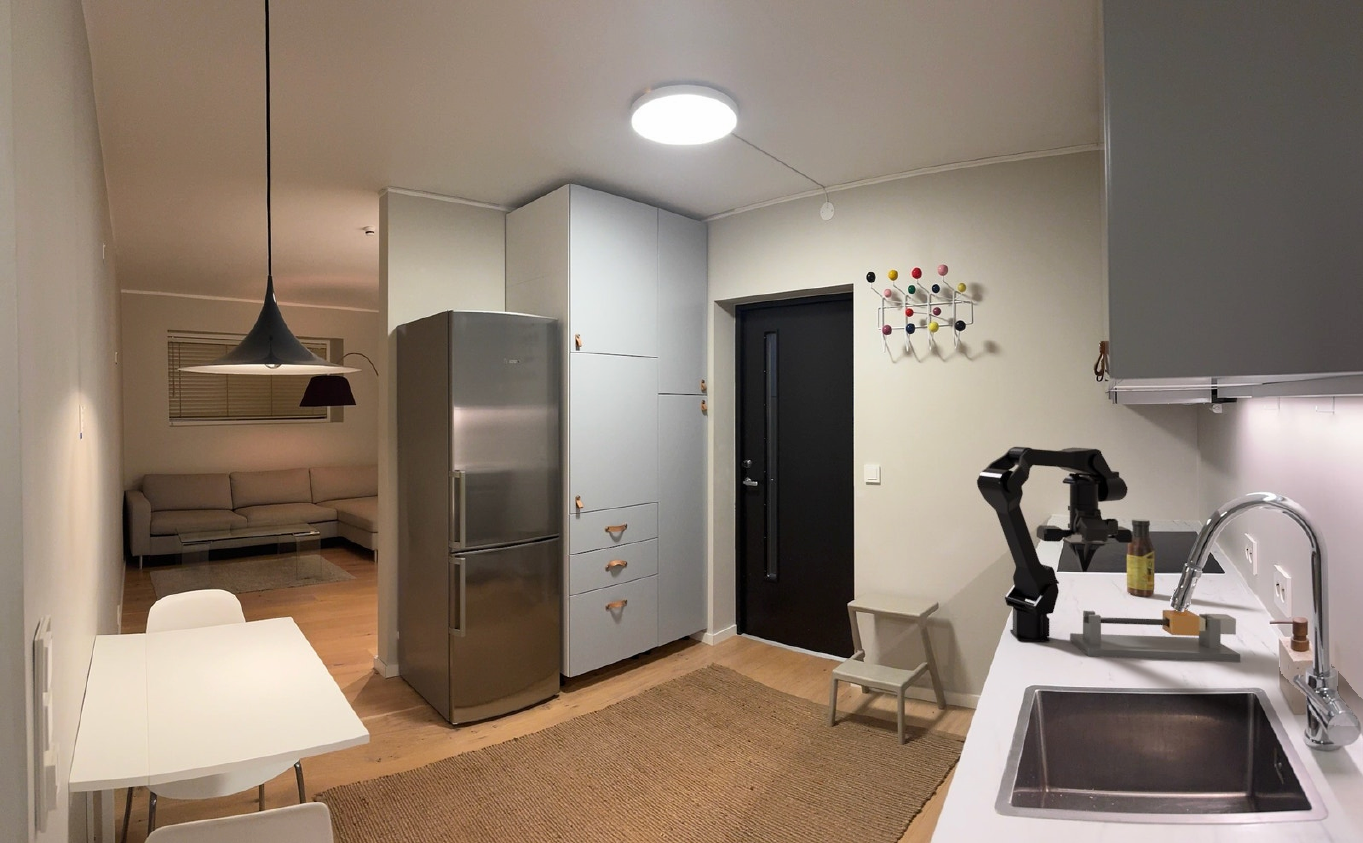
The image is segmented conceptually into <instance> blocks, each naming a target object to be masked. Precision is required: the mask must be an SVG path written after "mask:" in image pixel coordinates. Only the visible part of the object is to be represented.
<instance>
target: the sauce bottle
mask: <svg viewBox="0 0 1363 843" xmlns="http://www.w3.org/2000/svg"><path fill="white" fill-rule="evenodd" d="M1131 525H1132V533H1133V543H1127V547H1126V548H1127V552H1126V588H1127V589H1126V592H1127V593H1128V594H1129V593H1130V595H1133V596H1138V597H1151V596H1152V597H1153V595H1154V594H1155V593H1154V592H1155V591H1154V590H1155V566H1156V565H1155V549H1154V548H1155V547H1154V546H1153V544H1152V543H1153V542H1152V541H1151V538H1150V526H1151V523H1150V520H1149V519H1143V518H1132V519H1131Z"/></svg>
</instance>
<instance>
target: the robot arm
mask: <svg viewBox="0 0 1363 843" xmlns="http://www.w3.org/2000/svg"><path fill="white" fill-rule="evenodd" d="M1016 466H1017V467H1016ZM1033 466H1040V467H1056V468H1059V469H1061V470H1064V471H1065V472H1066V471H1067V472H1069V474H1068V475H1067V476H1066V477H1064V479H1063V480H1062V484H1065V485H1066V484H1068V485H1069V505H1067V510H1068V511H1069V523H1067V528H1066V529H1062V528H1061V527H1059V526H1057V525H1044V524H1043V525H1039V526H1037V528H1036V538H1038V539H1039V540H1041V541H1043V542H1053V543H1055V542H1059V543H1060V542H1061V541H1062V542H1064V543H1066V544H1068V546H1069V548H1070V550H1071V552H1072V553H1073V555H1074V557H1075V560H1076V562H1077V565H1078V567H1079V569H1080V571H1081V572H1082V573H1086V572H1088V569H1089V566H1090V564H1091V563H1092V562H1091V561H1092V560H1093V557H1094V556H1095V553H1096V552H1097V550H1098V549H1100V548H1101V547H1105V546H1106V543H1105V542H1108V540H1109V539H1114V540H1116V542H1118V543H1120V544H1121V543H1122V544H1125V543H1127V544H1128V543H1133V530H1132V529H1129V528H1127V527H1124V526H1119V521H1118V519H1116V518H1106V519H1103V517H1102V512H1101V509H1099V503H1101V502H1102V503H1103V502H1112V501H1113V502H1115V501H1121V500H1123V499H1124V498H1126V496H1127V494H1128V486H1127V484H1126V482H1125V479H1123V478H1122V477H1120V472H1119V471H1113V470H1112V469H1111V467H1110V466H1109V464H1108V463H1107V461H1106V459H1105V457H1104V456H1103V453H1102V451H1101V450H1100V449H1098V448H1090V447H1089V448H1086V447H1067V448H1062V449H1061V450H1052V449H1040V448H1039V449H1038V448H1032V447H1027V446H1014V447H1011V448H1009V449H1007V451H1006V453H1005V454H1004V455H1002V456H1000V457H998V458H997V459H995V460H993V461H992V462H991V463H989V464H988V465H987V466H986V467H985V469H983V470H982V471H981V472H980V474H979V476H978V478H977V480H976V484H977V488H978V490H979V492H980V494H981V496H982V498H983V499H984V500H985V502H987V503H988V504H989V506H991V507H992V509H993V510H994V511H995V512H996V515H997V518H998V521H999V523H1000V527H1001V529H1002V531H1003V535H1004V538H1005V540H1006V543H1007V545H1008V548H1009V551H1010V554H1011V557H1012V560H1013V563H1014V566H1015V568H1014V572H1013V576H1012V580H1013V585H1012V587H1011V588H1010V589H1009V591H1008V592H1007V593H1006V595H1004V600H1005V603H1006V606H1008V607H1012V629H1010V630H1009V631H1010V634H1012V636H1013V637H1014V638H1015V639H1016V640H1017V641H1018V642H1041V643H1042V642H1043V643H1046V642H1047V643H1049V642H1050V641H1051V640H1050V638H1049V637H1050V618H1049V617H1048V615H1049V614H1054V611H1055V606H1056V603H1057V600H1058V596H1059V592H1060V591H1059V584H1060V582H1059V580H1058V579H1057V576H1056V572H1055V569H1054V568H1053V567H1052V566H1049V565H1046V564H1042V563H1041V562H1040V559H1039V556H1038V554H1037V551H1036V547H1035V544H1034V541H1033V538H1032V536H1031V533H1030V530H1029V528H1028V526H1027V522H1026V520H1025V516H1024V514H1023V511H1022V507H1021V501H1022V498H1023V495H1024V493H1023V492H1024V491H1023V487H1022V486H1024V484H1025V483H1026V482H1027V481H1028V480H1029V478H1030V477H1029V476H1030V472H1031V471H1030V470H1031V468H1032V467H1033ZM1015 467H1016V468H1015ZM1013 468H1015V469H1014V470H1011V469H1013ZM1027 600H1028V601H1027ZM1031 601H1032V602H1031Z"/></svg>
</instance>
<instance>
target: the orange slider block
mask: <svg viewBox="0 0 1363 843" xmlns="http://www.w3.org/2000/svg"><path fill="white" fill-rule="evenodd" d="M1175 590H1176V589H1173V592H1174V591H1175ZM1162 619H1170V625H1161V627H1162V630H1164V631H1166V632H1167V633H1168V634H1170V635H1171V636H1185V637H1191V636H1193V637H1199V614H1198V615H1197V614H1196V613H1194V612H1192V611H1189V608H1188V609H1187V610H1185V611H1184V612H1179V611H1176V610H1174V609H1171V610H1170V609H1162Z"/></svg>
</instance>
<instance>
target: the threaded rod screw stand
mask: <svg viewBox="0 0 1363 843" xmlns="http://www.w3.org/2000/svg"><path fill="white" fill-rule="evenodd" d="M1082 612H1083V614H1082V615H1083V616H1082V633H1073V632H1071V633H1069V634H1070V635H1069V640H1070V642H1071V643H1073V644H1074V645H1075V646H1076V647H1078V649H1079V650H1081V652H1082V653H1084V654H1085V655H1086V656H1087V657H1096V656H1104V657H1103V658H1123V659H1124V658H1125V659H1126V658H1127V659H1154V660H1155V659H1156V660H1157V659H1158V660H1177V661H1179V660H1180V661H1181V660H1182V661H1201V662H1202V661H1206V662H1207V661H1208V662H1229V663H1230V662H1231V663H1232V662H1233V663H1235V662H1236V663H1241V654H1240V653H1239V652H1237V651H1236V650H1234V649H1232V648H1230V647H1228V646H1226V645H1225V644H1223V643H1221V642H1222V641H1221V635H1233V636H1235V635H1236V634H1237V630H1236V629H1237V618H1235V617H1233V616H1231V615H1229V614H1228V613H1227V614H1226V613H1199V614H1198V616H1199V636H1198V637H1196V636H1193V637H1191V636H1165V635H1163V636H1160V635H1132V634H1105V633H1104V634H1102V624H1110V625H1111V624H1112V625H1141V626H1142V625H1144V626H1145V625H1146V626H1148V625H1149V626H1162V625H1170V619H1163V618H1138V617H1136V618H1132V617H1131V618H1130V617H1104V616H1103V617H1102V616H1101V615H1100V614H1096V612H1095V611H1094V610H1083V611H1082Z"/></svg>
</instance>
